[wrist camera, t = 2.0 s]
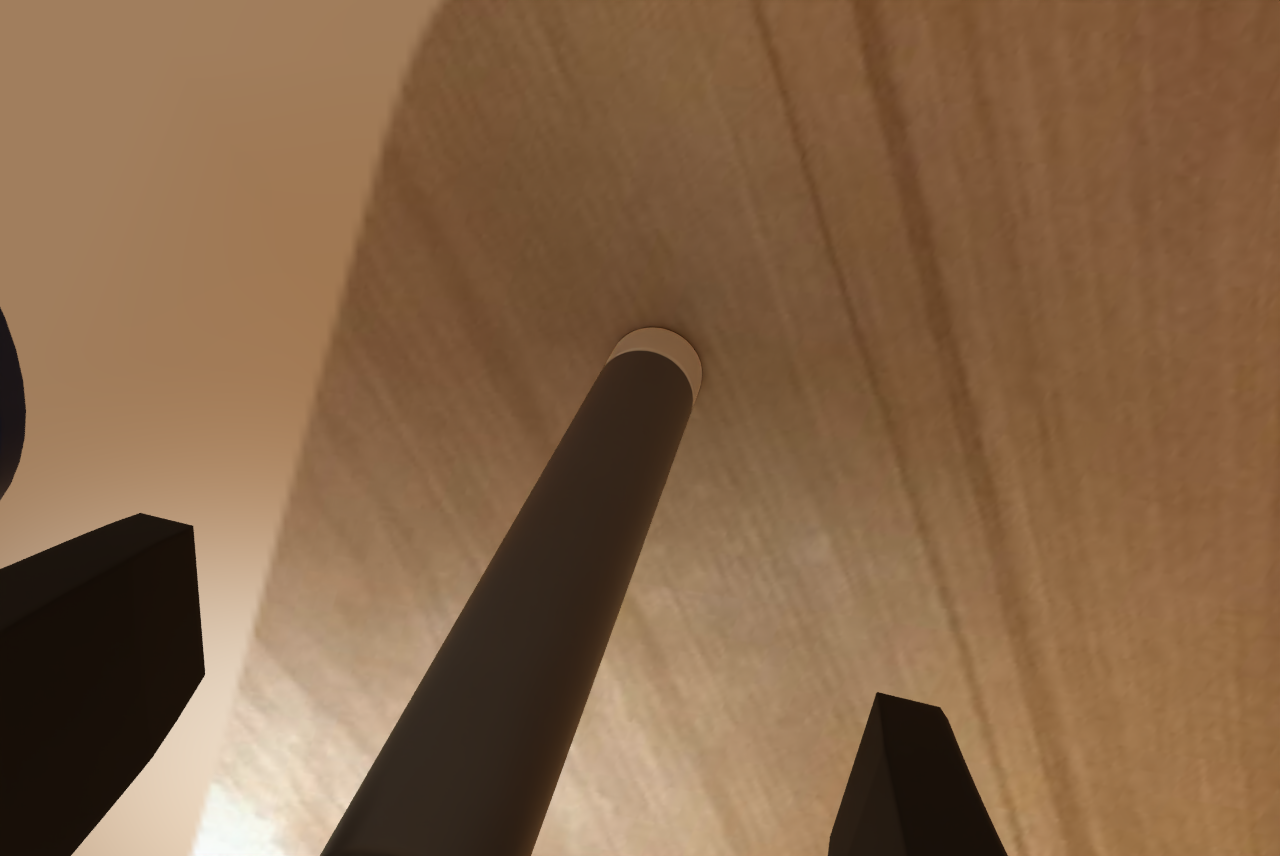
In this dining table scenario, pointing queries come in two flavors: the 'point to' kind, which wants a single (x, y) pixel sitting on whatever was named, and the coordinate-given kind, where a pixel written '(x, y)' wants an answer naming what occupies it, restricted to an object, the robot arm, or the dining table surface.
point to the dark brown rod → (531, 629)
